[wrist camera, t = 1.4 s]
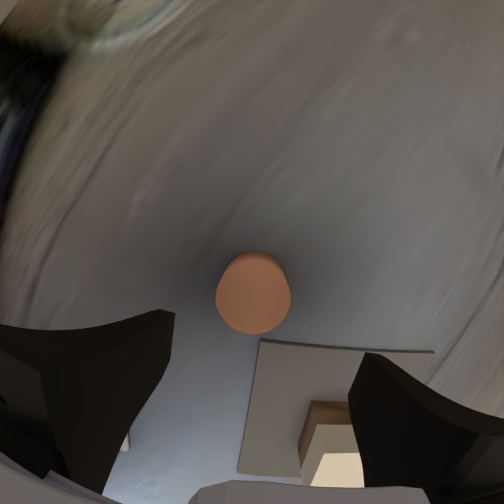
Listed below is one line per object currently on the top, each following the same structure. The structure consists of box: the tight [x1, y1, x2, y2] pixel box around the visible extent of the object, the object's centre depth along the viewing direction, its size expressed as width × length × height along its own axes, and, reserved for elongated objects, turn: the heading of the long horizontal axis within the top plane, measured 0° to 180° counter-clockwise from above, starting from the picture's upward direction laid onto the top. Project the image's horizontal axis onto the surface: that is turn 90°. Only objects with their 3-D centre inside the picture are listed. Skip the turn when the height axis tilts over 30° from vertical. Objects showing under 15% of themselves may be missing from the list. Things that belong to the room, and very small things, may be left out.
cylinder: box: [216, 251, 291, 334], centre depth 19 cm, size 4×4×4 cm
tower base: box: [297, 400, 352, 469], centre depth 20 cm, size 5×5×3 cm
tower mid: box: [301, 424, 364, 488], centre depth 17 cm, size 5×5×3 cm
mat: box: [237, 339, 435, 477], centre depth 22 cm, size 14×14×1 cm
